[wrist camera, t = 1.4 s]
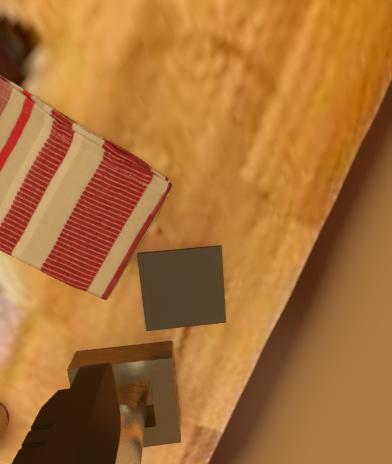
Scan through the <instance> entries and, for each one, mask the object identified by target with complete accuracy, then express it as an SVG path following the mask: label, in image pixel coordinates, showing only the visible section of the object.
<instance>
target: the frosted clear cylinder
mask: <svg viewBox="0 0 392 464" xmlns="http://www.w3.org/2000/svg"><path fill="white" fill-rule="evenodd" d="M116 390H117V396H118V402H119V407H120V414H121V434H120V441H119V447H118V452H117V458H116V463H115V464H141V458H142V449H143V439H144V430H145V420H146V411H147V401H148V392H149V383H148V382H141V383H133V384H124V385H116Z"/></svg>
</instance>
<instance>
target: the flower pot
mask: <svg viewBox="0 0 392 464" xmlns="http://www.w3.org/2000/svg"><path fill="white" fill-rule="evenodd" d="M7 425H8V418H7V412H6V410H5V408H4V407H3V406H2V405H1V404H0V440H1V438H2V436H3V434H4V432H5V430H6V428H7Z"/></svg>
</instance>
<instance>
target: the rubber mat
mask: <svg viewBox="0 0 392 464" xmlns="http://www.w3.org/2000/svg"><path fill="white" fill-rule="evenodd" d="M137 257H138V265H139V274H140V282H141V290H142V298H143V306H144V314H145V323H146V331H151V330H161V329H170V328H179V327H189V326H198V325H207V324H217V323H226V315H225V298H224V281H223V264H222V247H221V246H210V247H199V248H188V249H178V250H167V251H156V252H145V253H137Z"/></svg>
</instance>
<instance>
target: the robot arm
mask: <svg viewBox="0 0 392 464" xmlns="http://www.w3.org/2000/svg"><path fill="white" fill-rule="evenodd" d="M120 434H121V414H120V407H119V402H118V396H117V390H116V384H115V379H114V373H113V368H112V365H111V363H110V362H107V363H100V364H93V365H85V366H81V367H80V368H79V369H78V371H77V373H76V376H75V378H74V380H73V382H72V385H71V387H70V389H64V390H58V391H57V392H56V393H55V394H54V395H53V396H52V397H51V398H50V399H49V400H48V401H47V402H46V403H45V404H44V405H43V407H42V408H41V409H40V411H39V413H38V415H37V417H36V419H35V421H34V423H33V425H32V426H31V431H29V432H28V434H27V436H26V438H25V440H24V442H23V443H22V448H21V449H19V451H18V453H17V455H16V457H15V459H14V460H13V462H12V464H115V463H116V458H117V452H118V447H119V441H120Z"/></svg>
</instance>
